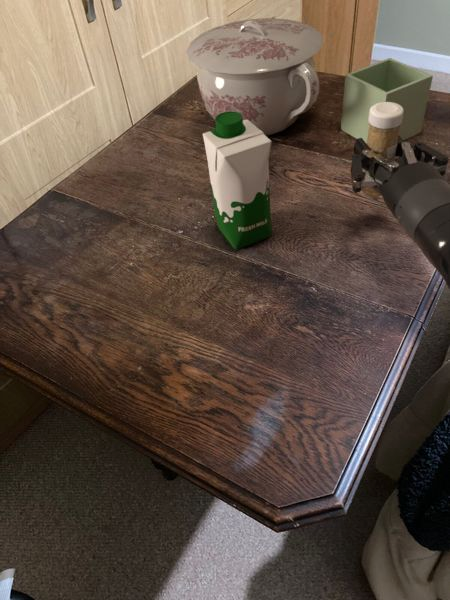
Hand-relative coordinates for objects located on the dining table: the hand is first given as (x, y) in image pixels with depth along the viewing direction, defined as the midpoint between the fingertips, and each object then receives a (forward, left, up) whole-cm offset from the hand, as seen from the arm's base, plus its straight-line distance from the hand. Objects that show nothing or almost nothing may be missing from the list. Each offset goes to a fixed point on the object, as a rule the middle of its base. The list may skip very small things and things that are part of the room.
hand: (373, 140), depth 75 cm
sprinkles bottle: (+1, +3, -7) cm, 8 cm away
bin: (-21, -19, -14) cm, 31 cm away
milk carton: (+19, -8, -14) cm, 25 cm away
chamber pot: (-4, -39, -14) cm, 42 cm away
